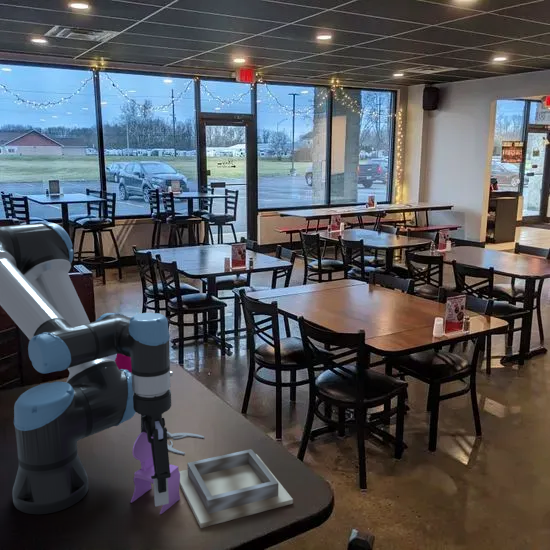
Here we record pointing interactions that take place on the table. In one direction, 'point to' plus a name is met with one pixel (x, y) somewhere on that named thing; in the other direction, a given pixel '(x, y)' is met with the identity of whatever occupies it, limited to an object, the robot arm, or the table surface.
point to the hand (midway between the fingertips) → (156, 490)
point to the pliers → (180, 435)
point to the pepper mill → (123, 362)
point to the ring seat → (231, 487)
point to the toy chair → (152, 473)
